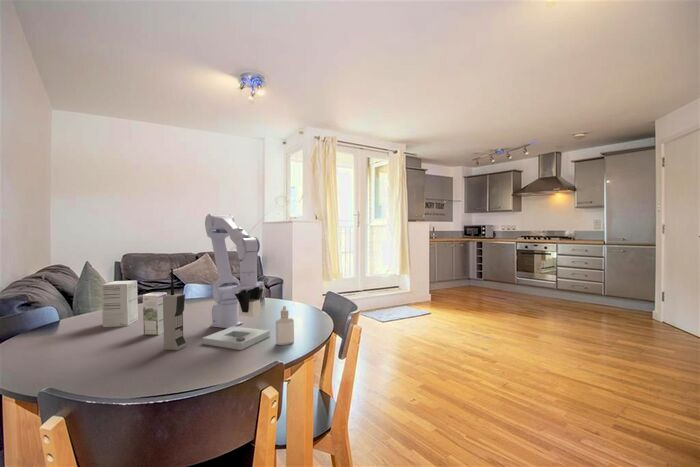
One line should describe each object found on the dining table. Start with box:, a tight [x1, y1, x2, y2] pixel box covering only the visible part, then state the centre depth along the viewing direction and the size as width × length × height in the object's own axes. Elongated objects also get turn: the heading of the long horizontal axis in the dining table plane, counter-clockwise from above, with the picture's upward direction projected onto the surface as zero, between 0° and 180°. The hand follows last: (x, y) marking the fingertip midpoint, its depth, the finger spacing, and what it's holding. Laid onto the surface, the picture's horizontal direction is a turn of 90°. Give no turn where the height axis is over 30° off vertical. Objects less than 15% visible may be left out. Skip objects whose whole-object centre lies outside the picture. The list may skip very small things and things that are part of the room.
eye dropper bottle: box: [275, 305, 295, 346], centre depth 107 cm, size 4×6×12 cm
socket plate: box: [201, 326, 271, 351], centre depth 111 cm, size 16×14×3 cm
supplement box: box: [101, 280, 139, 328], centre depth 135 cm, size 10×9×17 cm
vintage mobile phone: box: [163, 268, 187, 351], centre depth 104 cm, size 4×5×25 cm
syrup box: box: [142, 292, 168, 336], centre depth 121 cm, size 6×6×14 cm
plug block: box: [238, 299, 261, 318], centre depth 117 cm, size 6×4×5 cm, turn 67°
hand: (249, 310), depth 117 cm, fingers closed on plug block, 4 cm apart
